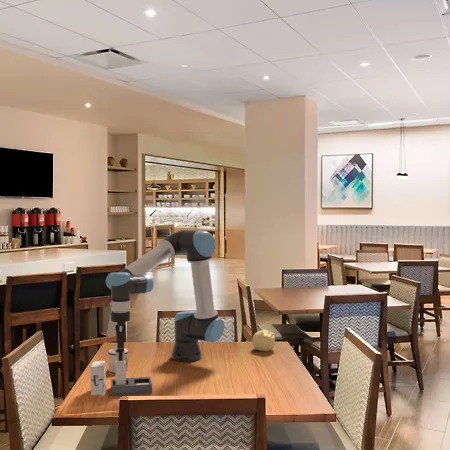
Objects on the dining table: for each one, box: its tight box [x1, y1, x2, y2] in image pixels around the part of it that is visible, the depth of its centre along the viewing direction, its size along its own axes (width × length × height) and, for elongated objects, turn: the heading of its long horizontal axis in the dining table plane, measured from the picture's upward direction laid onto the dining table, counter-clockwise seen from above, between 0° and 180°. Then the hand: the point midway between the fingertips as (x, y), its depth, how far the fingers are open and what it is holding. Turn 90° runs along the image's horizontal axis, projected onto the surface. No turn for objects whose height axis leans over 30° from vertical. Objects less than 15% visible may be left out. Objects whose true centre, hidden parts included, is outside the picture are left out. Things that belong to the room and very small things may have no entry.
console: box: [110, 376, 153, 397], centre depth 214 cm, size 16×10×4 cm, turn 102°
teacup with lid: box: [107, 344, 129, 374], centre depth 244 cm, size 12×9×12 cm
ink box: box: [89, 360, 107, 396], centre depth 213 cm, size 9×5×12 cm, turn 5°
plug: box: [115, 360, 127, 385], centre depth 213 cm, size 4×4×14 cm
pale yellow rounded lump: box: [252, 329, 276, 352], centre depth 278 cm, size 12×12×11 cm
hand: (120, 363), depth 213 cm, fingers open, 13 cm apart
